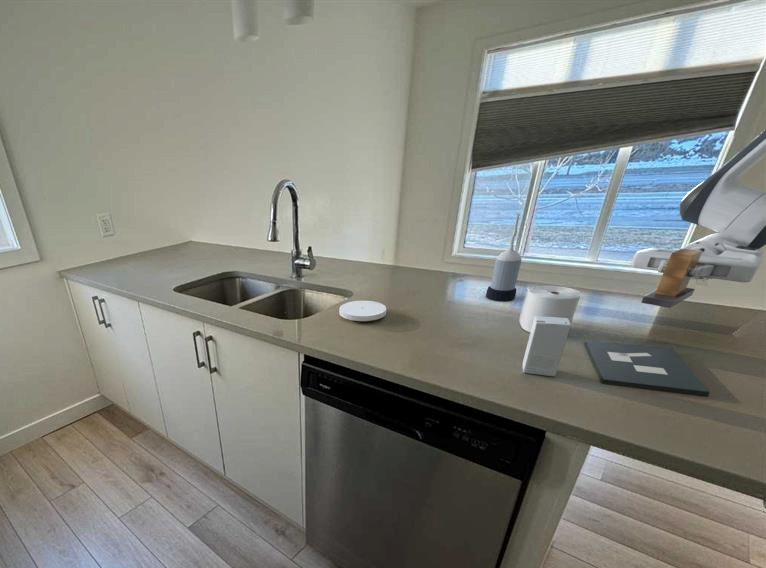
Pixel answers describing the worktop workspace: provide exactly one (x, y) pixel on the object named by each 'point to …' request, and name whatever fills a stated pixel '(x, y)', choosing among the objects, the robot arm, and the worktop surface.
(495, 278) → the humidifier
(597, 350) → the slate board
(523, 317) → the toilet tissue
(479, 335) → the worktop surface
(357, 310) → the plastic lid
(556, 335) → the cosmetic box
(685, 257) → the eraser
